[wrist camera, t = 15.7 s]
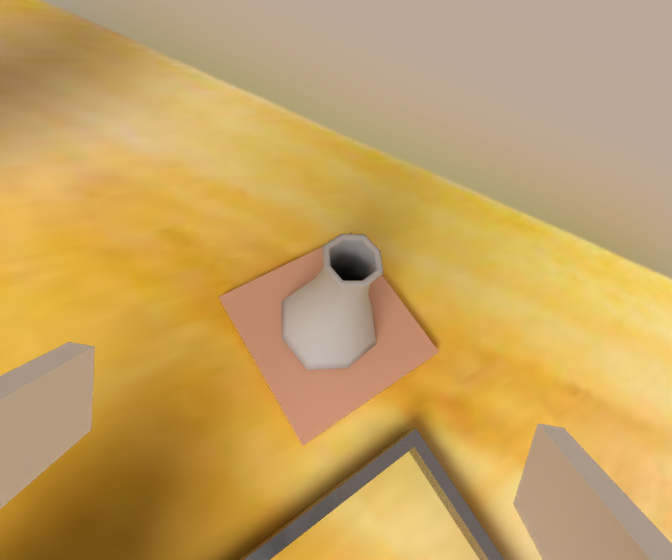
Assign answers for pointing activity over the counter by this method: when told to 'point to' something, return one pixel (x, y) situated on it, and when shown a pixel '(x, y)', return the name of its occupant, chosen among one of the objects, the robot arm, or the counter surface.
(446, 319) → the counter surface
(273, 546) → the steel frame
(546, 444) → the robot arm
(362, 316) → the flask
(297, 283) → the terracotta tile
